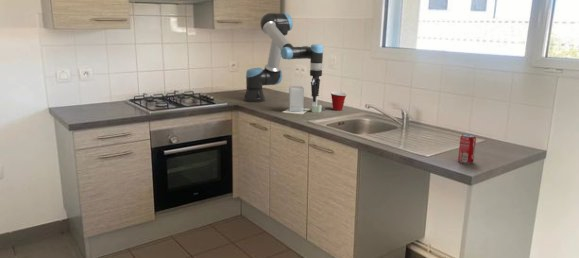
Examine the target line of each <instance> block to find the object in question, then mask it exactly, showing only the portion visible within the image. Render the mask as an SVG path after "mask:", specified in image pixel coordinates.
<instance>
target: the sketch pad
mask: <svg viewBox="0 0 579 258" xmlns="http://www.w3.org/2000/svg"><path fill="white" fill-rule="evenodd" d="M310 110H311V109H310V108H304V107H303V111H290V110H289V108H287V109H285V110H284V111H283V110H282V113H283V114H295V115H304V113H307V112H308V111H310Z"/></svg>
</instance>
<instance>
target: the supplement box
mask: <svg viewBox="0 0 579 258" xmlns="http://www.w3.org/2000/svg"><path fill="white" fill-rule="evenodd" d="M288 90H289V92H288V94H289V95H288V109H289V110H290V111H303V108H304V100H305V98H304V97H305V89H304V87H303V86H291V85H290V86H289V87H288Z"/></svg>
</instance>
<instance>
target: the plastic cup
mask: <svg viewBox="0 0 579 258" xmlns="http://www.w3.org/2000/svg"><path fill="white" fill-rule="evenodd" d="M346 96H347V93H345V92H342V91H341V92H339V91H330V97H331V104H332V110H333V111H336V112H338V111H339V112H341V111H343V108H344V103H345V100H346Z"/></svg>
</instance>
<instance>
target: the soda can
mask: <svg viewBox="0 0 579 258" xmlns="http://www.w3.org/2000/svg"><path fill="white" fill-rule="evenodd" d="M476 142H477V138H476V135H475V134H471V133H462V134H461V136H460V138H459V148H458V156H457V160H458V161H459V163H461V164H467V165H468V164H472V163H473V162H474V160H475V152H476Z"/></svg>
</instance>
